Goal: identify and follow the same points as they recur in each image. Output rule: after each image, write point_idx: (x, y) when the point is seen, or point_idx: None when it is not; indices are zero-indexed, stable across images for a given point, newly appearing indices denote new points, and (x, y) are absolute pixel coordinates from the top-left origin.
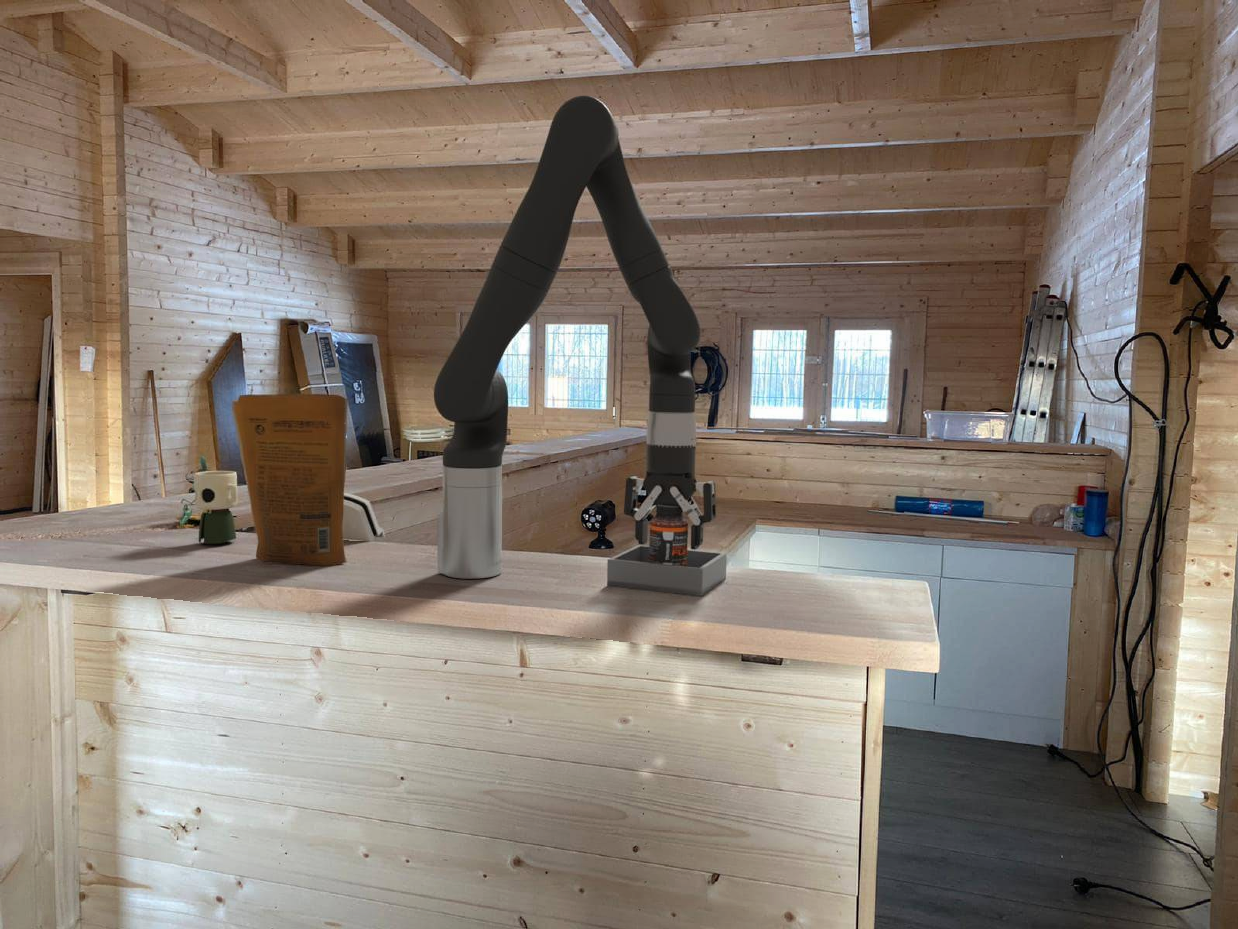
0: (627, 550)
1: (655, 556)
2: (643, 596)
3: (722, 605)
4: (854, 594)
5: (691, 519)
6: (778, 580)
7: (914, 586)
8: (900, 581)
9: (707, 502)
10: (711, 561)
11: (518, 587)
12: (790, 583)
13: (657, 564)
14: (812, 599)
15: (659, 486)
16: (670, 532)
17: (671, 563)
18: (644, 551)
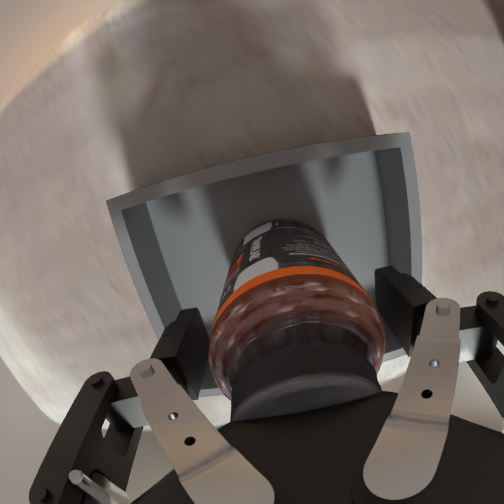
0: (419, 280)
1: (299, 232)
2: (245, 97)
3: (77, 161)
4: (31, 353)
5: (166, 374)
6: None
7: (39, 406)
8: (58, 420)
9: (71, 434)
10: (149, 305)
11: (471, 50)
12: None
13: (244, 160)
14: (30, 301)
15: (394, 496)
16: (243, 282)
17: (245, 244)
18: (393, 341)
